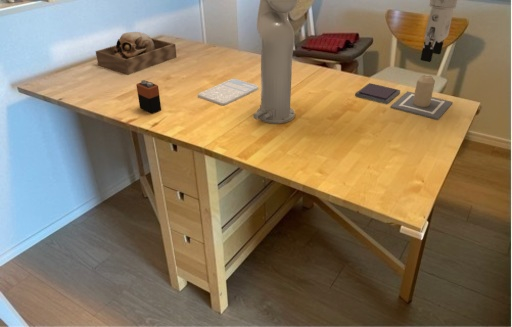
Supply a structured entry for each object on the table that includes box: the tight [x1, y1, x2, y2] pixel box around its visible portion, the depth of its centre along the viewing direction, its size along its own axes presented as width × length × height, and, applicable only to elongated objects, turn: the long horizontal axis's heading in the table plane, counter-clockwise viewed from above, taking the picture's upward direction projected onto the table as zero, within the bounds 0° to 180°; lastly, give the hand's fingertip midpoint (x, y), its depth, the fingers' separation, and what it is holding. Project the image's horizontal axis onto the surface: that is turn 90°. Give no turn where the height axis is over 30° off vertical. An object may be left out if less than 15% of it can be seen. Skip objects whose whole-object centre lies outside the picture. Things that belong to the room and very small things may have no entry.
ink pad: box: [354, 82, 401, 105], centre depth 157 cm, size 12×12×2 cm
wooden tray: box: [95, 37, 177, 75], centre depth 189 cm, size 27×20×6 cm
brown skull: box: [114, 31, 154, 59], centre depth 186 cm, size 16×18×14 cm
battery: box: [135, 79, 162, 114], centre depth 145 cm, size 4×7×10 cm, turn 48°
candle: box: [413, 75, 436, 107], centre depth 146 cm, size 6×6×10 cm
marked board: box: [389, 91, 453, 121], centre depth 149 cm, size 16×16×1 cm
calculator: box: [197, 78, 259, 107], centre depth 159 cm, size 13×20×2 cm, turn 141°
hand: (430, 57), depth 140 cm, fingers open, 9 cm apart
